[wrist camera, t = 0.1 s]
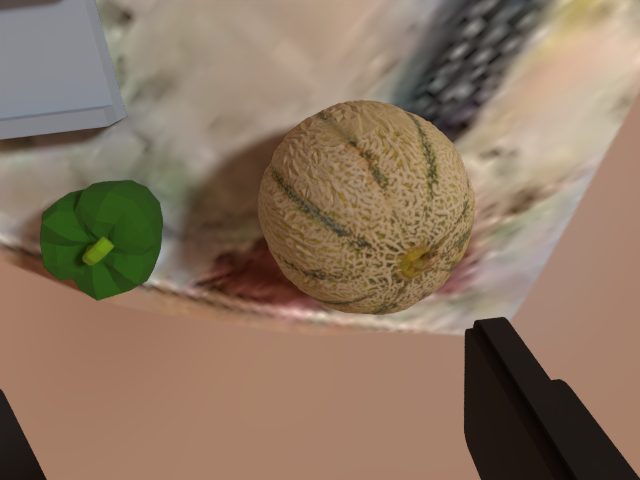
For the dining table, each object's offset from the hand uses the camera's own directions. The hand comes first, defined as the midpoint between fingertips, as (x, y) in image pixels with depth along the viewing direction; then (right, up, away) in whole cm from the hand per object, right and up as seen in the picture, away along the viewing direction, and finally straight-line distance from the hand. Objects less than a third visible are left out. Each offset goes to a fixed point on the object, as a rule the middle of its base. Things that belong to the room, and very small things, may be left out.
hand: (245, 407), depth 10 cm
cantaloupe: (+4, +9, +31) cm, 32 cm away
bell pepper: (-15, +6, +31) cm, 35 cm away
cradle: (-19, +17, +26) cm, 36 cm away
